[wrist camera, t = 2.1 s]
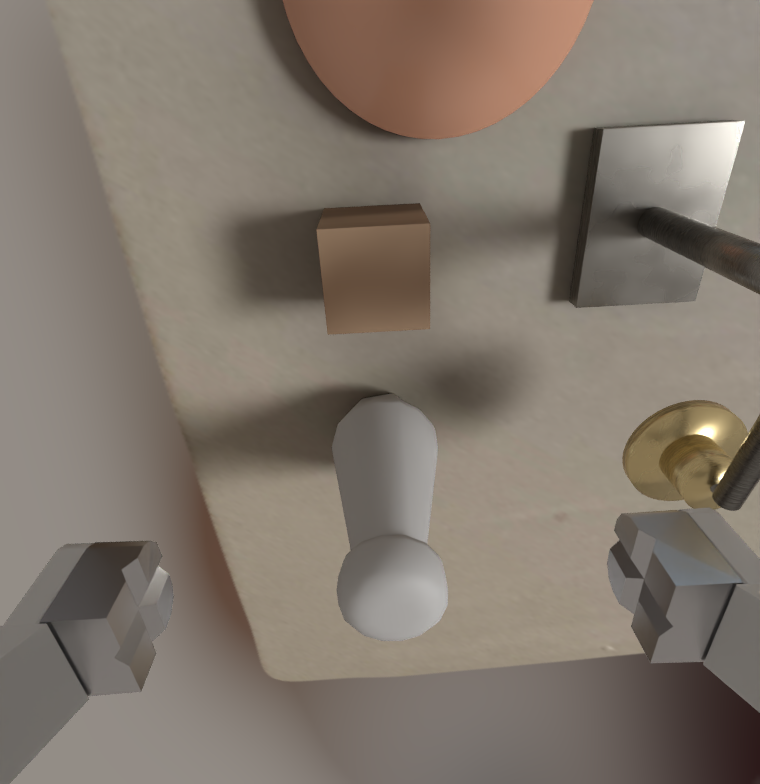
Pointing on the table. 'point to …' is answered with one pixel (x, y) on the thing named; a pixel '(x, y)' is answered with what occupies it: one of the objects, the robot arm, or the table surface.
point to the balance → (669, 288)
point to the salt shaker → (388, 520)
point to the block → (375, 268)
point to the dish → (435, 57)
